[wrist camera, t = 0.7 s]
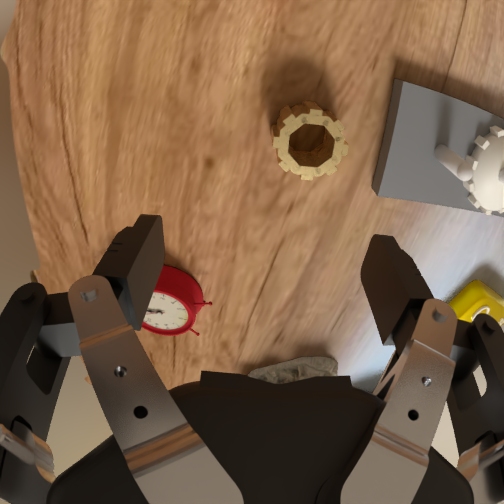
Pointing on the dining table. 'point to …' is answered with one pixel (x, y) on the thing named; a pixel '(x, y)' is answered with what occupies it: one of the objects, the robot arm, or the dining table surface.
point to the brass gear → (322, 155)
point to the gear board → (419, 141)
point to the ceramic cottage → (296, 370)
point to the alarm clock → (173, 303)
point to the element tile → (478, 302)
